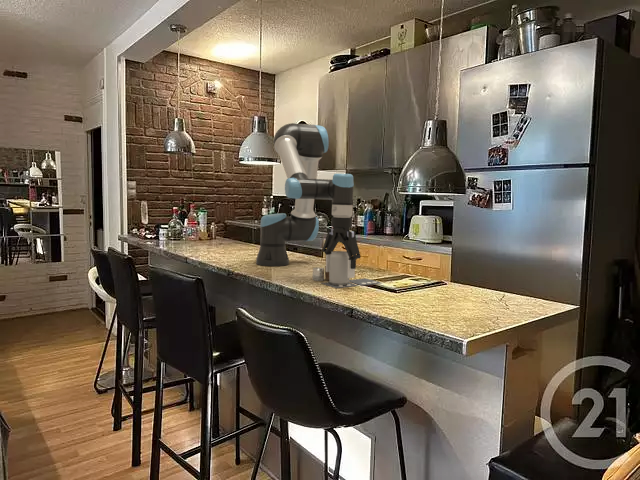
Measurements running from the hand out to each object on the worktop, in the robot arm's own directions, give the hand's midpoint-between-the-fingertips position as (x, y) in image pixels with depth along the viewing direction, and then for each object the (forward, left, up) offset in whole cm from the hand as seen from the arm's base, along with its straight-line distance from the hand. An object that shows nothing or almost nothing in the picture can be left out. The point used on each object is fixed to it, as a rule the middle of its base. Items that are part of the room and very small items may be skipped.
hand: (339, 274), depth 173 cm
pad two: (0, 0, -4) cm, 4 cm away
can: (0, 0, -4) cm, 4 cm away
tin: (-11, -2, -4) cm, 12 cm away
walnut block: (-8, +3, -3) cm, 9 cm away
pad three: (0, +12, -4) cm, 12 cm away
